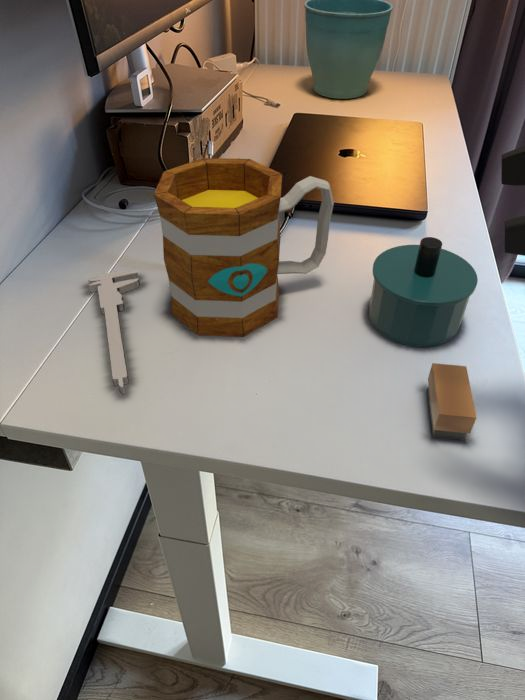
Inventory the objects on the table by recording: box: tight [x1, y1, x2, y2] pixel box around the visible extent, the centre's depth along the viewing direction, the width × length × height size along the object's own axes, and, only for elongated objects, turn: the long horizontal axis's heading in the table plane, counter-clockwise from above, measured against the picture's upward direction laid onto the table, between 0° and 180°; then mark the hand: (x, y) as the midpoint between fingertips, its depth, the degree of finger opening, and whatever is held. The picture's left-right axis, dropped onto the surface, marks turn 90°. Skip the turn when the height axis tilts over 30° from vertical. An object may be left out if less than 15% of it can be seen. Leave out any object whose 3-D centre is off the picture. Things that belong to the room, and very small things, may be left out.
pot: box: [368, 278, 470, 348], centre depth 61 cm, size 10×10×6 cm
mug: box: [153, 157, 335, 338], centre depth 61 cm, size 20×14×15 cm
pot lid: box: [372, 236, 478, 306], centre depth 57 cm, size 11×11×5 cm
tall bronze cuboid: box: [427, 362, 477, 441], centre depth 51 cm, size 3×6×4 cm, turn 172°
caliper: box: [87, 270, 141, 395], centre depth 61 cm, size 20×1×6 cm
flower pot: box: [303, 0, 394, 100], centre depth 117 cm, size 18×18×17 cm
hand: (502, 201), depth 36 cm, fingers open, 7 cm apart
